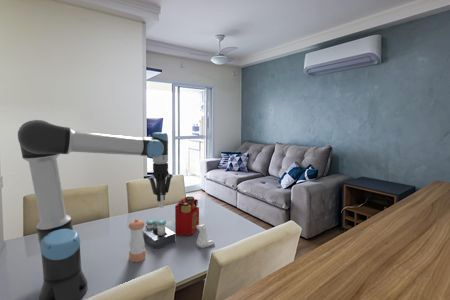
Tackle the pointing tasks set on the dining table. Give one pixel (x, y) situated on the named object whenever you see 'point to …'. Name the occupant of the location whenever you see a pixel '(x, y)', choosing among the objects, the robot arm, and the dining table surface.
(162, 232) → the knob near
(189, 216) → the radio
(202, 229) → the sitting furry creature
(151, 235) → the mount
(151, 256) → the dining table surface
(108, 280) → the dining table surface
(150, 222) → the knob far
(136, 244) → the salt shaker
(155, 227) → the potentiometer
